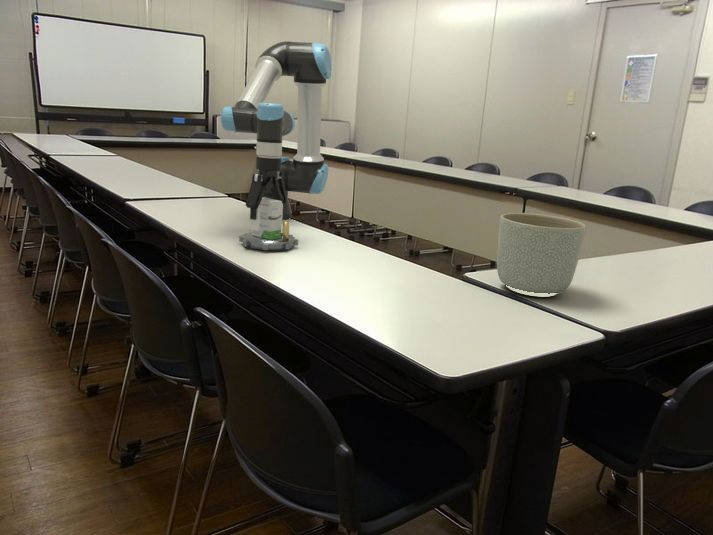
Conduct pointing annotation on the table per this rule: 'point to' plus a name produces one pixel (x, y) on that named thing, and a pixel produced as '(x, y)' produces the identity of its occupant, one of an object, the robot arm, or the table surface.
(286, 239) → the sprocket
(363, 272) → the table surface
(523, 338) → the table surface
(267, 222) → the ink box
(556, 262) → the planter
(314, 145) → the robot arm
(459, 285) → the table surface
